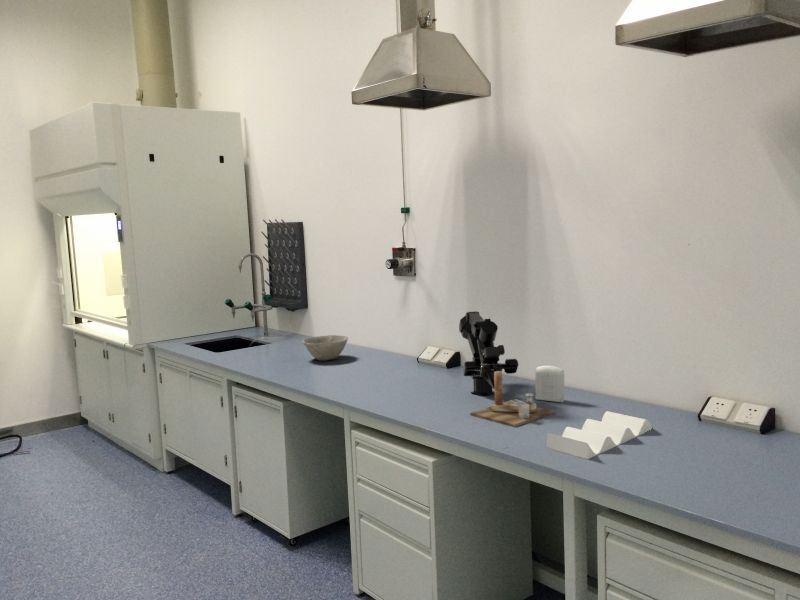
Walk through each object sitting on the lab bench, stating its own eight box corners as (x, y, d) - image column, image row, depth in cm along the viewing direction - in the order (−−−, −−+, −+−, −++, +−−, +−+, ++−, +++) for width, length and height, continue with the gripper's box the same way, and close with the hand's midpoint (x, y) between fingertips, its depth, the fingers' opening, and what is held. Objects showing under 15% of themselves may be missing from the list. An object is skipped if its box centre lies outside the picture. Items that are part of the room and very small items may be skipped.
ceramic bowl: (331, 352, 340) (330, 333, 339) (358, 358, 323) (357, 338, 321) (294, 359, 326) (292, 339, 325) (319, 366, 309) (318, 345, 307)
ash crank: (536, 409, 222) (535, 371, 220) (535, 413, 217) (535, 374, 216) (492, 408, 225) (491, 370, 224) (491, 411, 221) (490, 373, 220)
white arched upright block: (566, 400, 236) (565, 365, 234) (562, 403, 232) (562, 368, 230) (537, 397, 241) (537, 363, 239) (533, 400, 237) (533, 366, 236)
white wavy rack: (653, 430, 201) (654, 414, 200) (587, 461, 178) (587, 443, 177) (614, 421, 211) (614, 406, 210) (547, 450, 188) (546, 432, 187)
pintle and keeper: (529, 410, 222) (529, 392, 222) (542, 415, 216) (542, 397, 215) (510, 413, 219) (510, 395, 219) (523, 419, 213) (522, 400, 212)
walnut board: (470, 415, 222) (470, 412, 222) (510, 402, 235) (510, 400, 235) (514, 427, 208) (514, 424, 208) (554, 413, 220) (554, 410, 220)
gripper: (463, 338, 230) (470, 377, 220) (516, 335, 232) (525, 373, 222) (460, 356, 239) (466, 394, 229) (511, 353, 240) (520, 391, 231)
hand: (494, 388), depth 227 cm, fingers closed
